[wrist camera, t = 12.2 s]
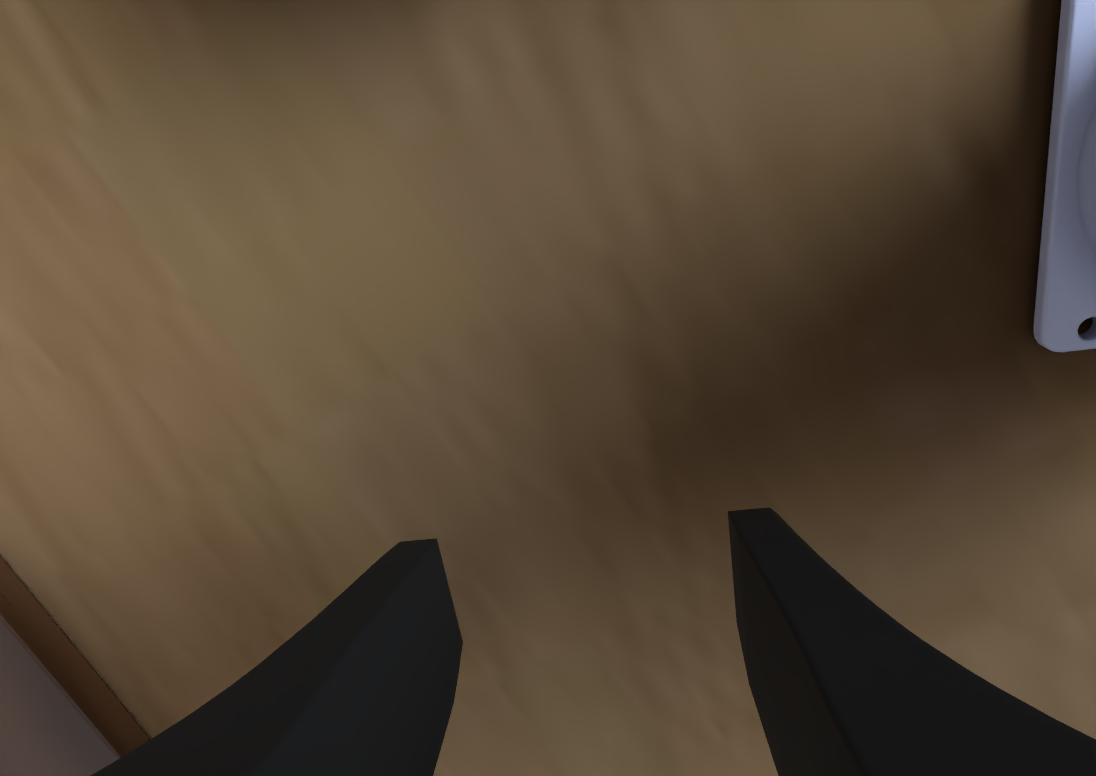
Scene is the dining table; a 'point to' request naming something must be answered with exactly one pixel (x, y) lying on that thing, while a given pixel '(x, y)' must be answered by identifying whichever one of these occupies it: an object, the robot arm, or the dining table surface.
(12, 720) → the plate
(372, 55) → the dining table surface
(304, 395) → the dining table surface
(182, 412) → the dining table surface
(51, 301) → the dining table surface
